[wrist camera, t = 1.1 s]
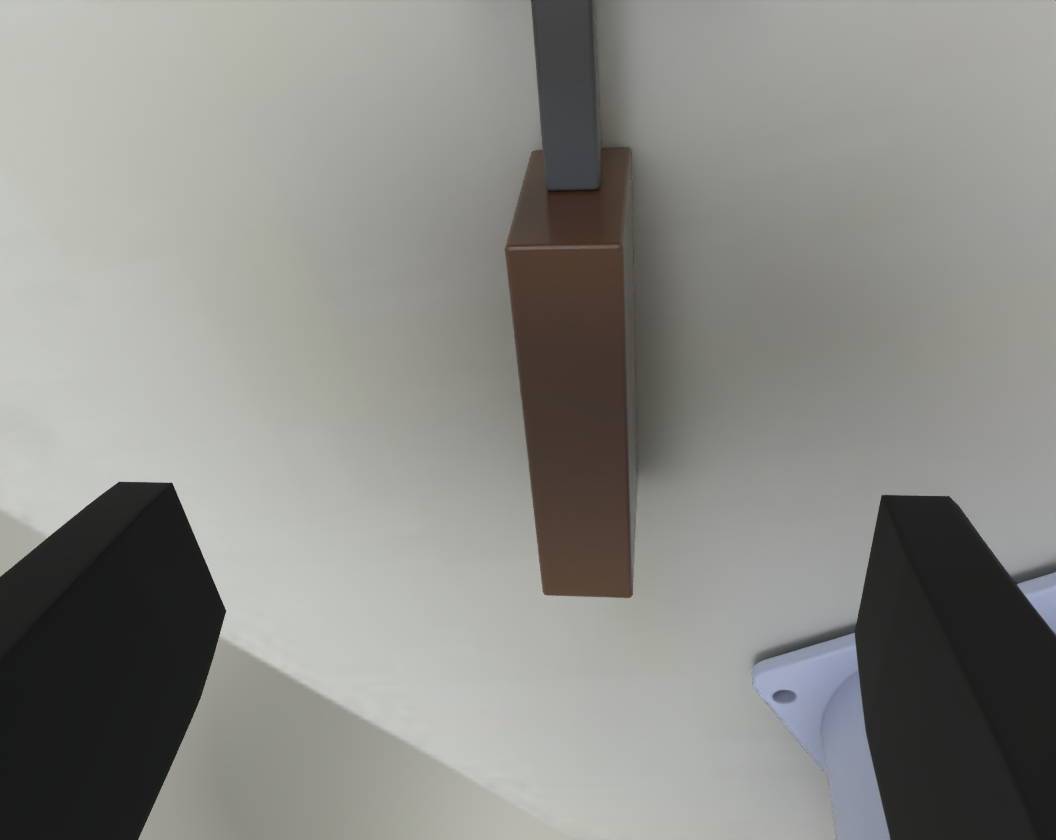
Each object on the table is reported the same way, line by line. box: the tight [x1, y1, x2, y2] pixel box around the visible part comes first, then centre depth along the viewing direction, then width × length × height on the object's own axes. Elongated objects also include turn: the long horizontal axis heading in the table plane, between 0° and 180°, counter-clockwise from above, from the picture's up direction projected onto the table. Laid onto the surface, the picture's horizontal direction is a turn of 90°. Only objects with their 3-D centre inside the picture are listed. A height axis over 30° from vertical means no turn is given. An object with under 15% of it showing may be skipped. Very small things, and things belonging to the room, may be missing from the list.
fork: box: [505, 0, 638, 598], centre depth 14 cm, size 14×4×3 cm, turn 5°
